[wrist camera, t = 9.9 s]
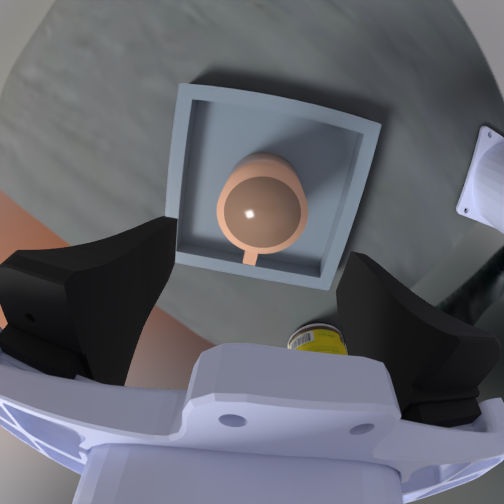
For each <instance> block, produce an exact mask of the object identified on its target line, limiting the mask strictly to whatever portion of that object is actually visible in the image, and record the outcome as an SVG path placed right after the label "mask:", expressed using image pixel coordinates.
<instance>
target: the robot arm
mask: <svg viewBox="0 0 504 504" xmlns="http://www.w3.org/2000/svg"><path fill="white" fill-rule="evenodd" d="M488 133H489V136H488ZM465 208H466V211H465V212H464V210H465ZM456 210H457V212H458V213H459V214H461V215H464V216H466V217H469V218H471V219H474V220H477V221H479V222H482V223H484V224H487V225H489V226H492V227H494V228H496V229H498V230H499V231H500V232H502V233H503V234H504V137H502V136H501V135H499V134H498V133H496V132H495V131H493V130H492V129H490V128H488V127H486V126H482V127H481V128H480V131H479V136H478V140H477V143H476V147H475V151H474V154H473V158H472V161H471V165H470V168H469V171H468V175H467V178H466V181H465V184H464V187H463V190H462V193H461V196H460V198H459V201H458V204H457V207H456ZM177 223H178V218H172V217H166V216H162V217H159V218H156V219H153V220H151V221H149V222H146V223H144V224H142V225H139V226H137V227H135V228H132V229H130V230H127V231H124V232H122V233H119V234H117V235H114V236H111V237H108V238H105V239H102V240H98V241H95V242H91V243H86V244H81V245H76V246H71V247H64V248H56V249H46V250H45V249H44V250H17V251H16V252H15V253H13V254H12V255H11V256H10V257H8V258H7V259H6V260H5V261H4V262H3V263H2V264H0V305H1V307H2V310H3V312H4V315H5V318H6V320H7V322H8V324H7V326H6V327H5V328H4V329H3V330H2V328H1V327H0V426H2V427H3V428H5V429H6V430H7V431H9V432H10V433H12V434H13V435H15V436H16V437H17V438H19V439H20V440H22V441H23V442H25V443H26V444H28V445H30V446H31V447H33V448H34V449H36V450H37V451H39V452H41V453H42V454H44V455H46V456H47V457H49V458H51V459H52V460H54V461H56V462H58V463H60V464H61V465H63V466H65V467H67V468H69V469H71V470H73V471H75V472H77V473H79V474H81V478H80V481H79V484H78V487H77V490H76V493H75V496H74V499H73V502H72V504H405V503H408V502H412V501H415V500H418V499H421V498H425V497H428V496H430V495H434V494H436V493H439V492H442V491H444V490H448V489H450V488H453V487H456V486H458V485H461V484H464V483H466V482H469V481H471V480H474V479H476V478H478V477H479V476H481V475H483V474H484V473H486V472H487V471H489V470H490V469H492V468H493V467H494V466H496V465H497V464H499V463H500V462H501V461H503V460H504V403H503V401H502V399H501V398H495V399H490V400H485V401H483V402H481V403H480V404H478V403H477V400H476V398H475V397H478V396H479V393H480V392H479V390H478V387H477V386H478V385H479V384H480V383H481V382H482V380H483V379H484V378H485V377H486V376H487V375H488V373H489V372H490V371H491V370H492V368H493V367H494V366H495V364H496V363H497V361H498V359H499V356H500V353H501V344H500V343H499V341H498V340H497V338H496V337H495V335H494V334H492V333H491V332H488V331H485V330H482V329H480V328H477V327H474V326H471V325H469V324H467V323H464V322H462V321H460V320H458V319H456V318H454V317H452V316H450V315H448V314H446V313H444V312H443V311H441V310H439V309H437V308H436V307H434V306H432V305H431V304H429V303H427V302H426V301H425V300H423V299H422V298H420V297H419V296H417V295H416V294H415V293H413V292H412V291H411V290H409V289H408V288H407V287H405V286H404V285H403V284H402V283H400V282H399V281H398V280H397V279H396V278H394V277H393V276H392V275H391V274H390V273H388V272H387V271H386V270H385V269H384V268H383V267H381V266H380V265H379V264H378V263H376V262H375V261H374V260H373V259H371V258H370V257H368V256H367V255H365V254H361V253H357V252H352V251H351V253H350V256H349V259H348V261H347V264H346V267H345V269H344V272H343V275H342V277H341V280H340V282H339V285H338V287H337V290H336V297H337V308H338V314H339V318H340V322H341V326H342V330H343V335H344V339H345V343H346V347H347V352H348V355H338V354H329V353H319V352H311V351H303V350H295V349H287V348H280V347H273V346H267V345H260V344H254V343H223V344H220V345H218V346H216V347H213V348H211V349H209V350H206V351H204V352H202V353H201V355H200V357H199V358H198V360H197V362H196V364H195V365H194V368H193V371H192V375H191V379H190V383H189V387H188V390H167V389H150V388H137V387H126V386H124V384H125V381H126V377H127V374H128V371H129V367H130V364H131V361H132V358H133V355H134V351H135V348H136V346H137V343H138V340H139V337H140V335H141V332H142V329H143V327H144V325H145V322H146V320H147V318H148V316H149V314H150V312H151V311H152V309H153V307H154V305H155V303H156V302H157V300H158V298H159V296H160V294H161V293H162V291H163V289H164V287H165V285H166V283H167V282H168V279H169V277H170V274H171V272H172V269H173V266H174V264H175V256H176V238H177Z"/></svg>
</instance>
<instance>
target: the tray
mask: <svg viewBox="0 0 504 504" xmlns="http://www.w3.org/2000/svg"><path fill="white" fill-rule="evenodd" d="M381 125H382V124H379V123H377V122H374V121H370V120H367V119H364V118H361V117H358V116H355V115H351V114H348V113H344V112H341V111H337V110H334V109H330V108H326V107H323V106H319V105H315V104H311V103H306V102H302V101H298V100H293V99H289V98H284V97H279V96H274V95H268V94H263V93H257V92H251V91H245V90H238V89H231V88H224V87H216V86H207V85H197V84H185V83H179V89H178V95H177V102H176V109H175V116H174V124H173V132H172V140H171V149H170V159H169V170H168V181H167V194H166V209H165V216H166V217H172V218H178V223H177V238H176V256H175V263H180V264H185V265H190V266H195V267H201V268H206V269H211V270H216V271H221V272H227V273H232V274H237V275H243V276H248V277H254V278H259V279H265V280H270V281H276V282H281V283H287V284H293V285H299V286H304V287H310V288H316V289H322V290H328V291H329V288H330V286H331V283H332V280H333V278H334V275H335V273H336V270H337V267H338V264H339V262H340V259H341V256H342V253H343V251H344V248H345V245H346V242H347V239H348V236H349V233H350V230H351V227H352V224H353V221H354V218H355V215H356V212H357V209H358V206H359V203H360V200H361V196H362V193H363V190H364V187H365V183H366V180H367V176H368V173H369V170H370V166H371V163H372V159H373V155H374V152H375V148H376V144H377V140H378V137H379V133H380V129H381ZM258 152H269V153H274V154H277V155H279V156H282V157H283V158H285V159H286V160H287V161H289V162H290V163H291V164H292V166H293V167H294V168H295V170H296V172H297V174H298V177H299V180H300V183H301V186H302V189H303V191H304V194H305V197H306V200H307V204H308V220H307V224H306V226H305V229H304V231H303V232H302V234H301V235H300V237H299V238H298V239H297V240H296V241H295V242H294V243H293V244H292V245H290V246H289V247H287V248H285V249H283V250H281V251H278V252H274V253H269V254H258V256H257V260H256V264H255V266H253V265H248V264H243V257H244V251H245V250H243V249H241V248H239V247H237V246H236V245H234V244H233V243H232V242H231V241H230V240H228V238H227V237H226V236H225V235H224V233H223V232H222V230H221V228H220V226H219V223H218V219H217V203H218V199H219V196H220V194H221V192H222V190H223V188H224V186H225V184H226V182H227V180H228V178H229V176H230V174H231V172H232V170H233V168H234V167H235V165H236V164H237V163H238V162H239V161H240V160H241V159H243V158H244V157H246V156H248V155H251V154H253V153H258Z"/></svg>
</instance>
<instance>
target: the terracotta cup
mask: <svg viewBox="0 0 504 504" xmlns="http://www.w3.org/2000/svg"><path fill="white" fill-rule="evenodd" d="M217 219H218V223H219V226H220V228H221V230H222V232H223V233H224V235H225V236H226V237H227V238H228V240H230V241H231V242H232V243H233V244H234V245H236V246H237V247H239V248H241V249H243V250H245V251H244V257H243V264H248V265H253V266H255V264H256V260H257V256H258V254H269V253H274V252H278V251H281V250H283V249H285V248H287V247H289V246H290V245H292V244H293V243H294V242H295V241H296V240H297V239H298V238H299V237H300V235H301V234H302V232H303V231H304V229H305V226H306V224H307V220H308V204H307V200H306V197H305V194H304V191H303V189H302V186H301V183H300V180H299V177H298V174H297V172H296V170H295V168H294V167H293V166H292V164H291V163H290V162H289V161H287V160H286V159H285V158H283V157H282V156H279V155H277V154H274V153H269V152H258V153H253V154H251V155H248V156H246V157H244V158H243V159H241V160H240V161H239V162H238V163H237V164H236V165H235V167H234V168H233V170H232V172H231V174H230V176H229V178H228V180H227V182H226V184H225V186H224V188H223V190H222V192H221V194H220V196H219V199H218V203H217Z"/></svg>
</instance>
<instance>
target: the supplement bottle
mask: <svg viewBox="0 0 504 504" xmlns="http://www.w3.org/2000/svg"><path fill="white" fill-rule="evenodd" d="M288 349H295V350H303V351H311V352H319V353H329V354H338V355H347V352H346V348H345V344H344V340H343V337H342V334H341V333H340V331H339V330H338V329H336V328H335V327H333V326H331V325H328V324H323V323H316V324H310V325H306V326H304V327H302V328H300V329H298V330H297V331H296V332H295V333H294V334H293V335H292V336H291V338H290V339H289V342H288Z"/></svg>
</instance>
